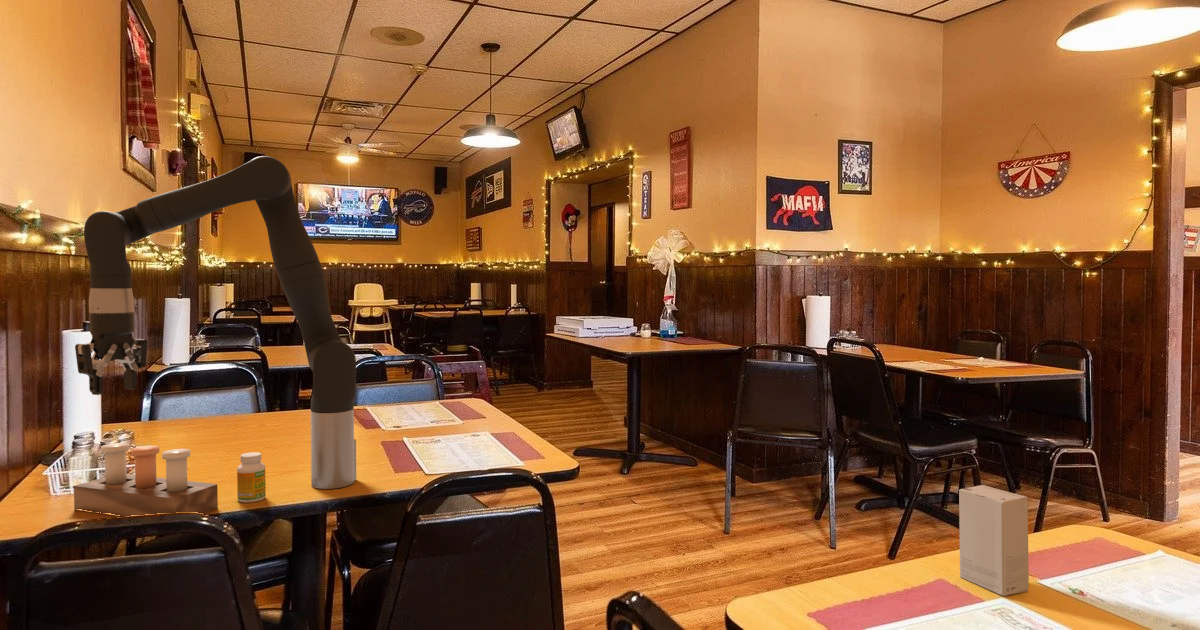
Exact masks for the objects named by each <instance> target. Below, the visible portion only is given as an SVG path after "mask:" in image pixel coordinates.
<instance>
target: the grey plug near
mask: <svg viewBox="0 0 1200 630" xmlns="http://www.w3.org/2000/svg"><path fill="white" fill-rule="evenodd" d="M189 457H191V449H189V448H176V449H174V448H173V449H169V450H164V451H163V452H162V453H161V459H162V460H165V474H166V476H165V478H166V488H167V492H172V493H178V492H181V491H184V490H187V489H188V486H187V481H188V458H189Z"/></svg>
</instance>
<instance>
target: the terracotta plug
mask: <svg viewBox="0 0 1200 630" xmlns="http://www.w3.org/2000/svg"><path fill="white" fill-rule="evenodd" d="M130 453H131V454H130V456H132V457H134V475H135V486H136V488H139V489H147V488H150V487H153V486H156V485H157V480H156V477H157V454H159V453H160V446H158V445H144V446H138V447H133V448H132V449H131V450H130Z"/></svg>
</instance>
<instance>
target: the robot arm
mask: <svg viewBox="0 0 1200 630" xmlns="http://www.w3.org/2000/svg"><path fill="white" fill-rule="evenodd" d="M292 184H293V183H292V179H291V174H290V171H289V170H288V168H287V166H286V165H285V164H284V163H283V162H282V161H281V160H279V159H277V158H276V157H272V156H267V155H261V156H256V157H254V158H252V159H251V160H249V161H247V162H246V163H244V164H242V165H240V166H238V167H236V168H234V169H231V170H230V171H227V172H226V173H223V174H221V175H218V176H216V177H213V178H210V179H207V180H205V181H202V182H198V183H194V184H191V185H188V186H184V187H181V188H177V189H174V190H171V191H167V192H163V193H160V194H158V195H154V196H152V197H149V198H145V199H142V200H141V201H139V202H138V203H137V204H136V205H134V206H131V207H129V208H125V209H122V210H120V211H115V212H113V211H110V210H109V211H108V210H101V211H96V212H94V213H92V214H91V215H89V216H88V217H87V219H86V220H85V223H84V227H83V238H84V239H83V240H84V245H85V250H86V255H87V259H88V263H89V298H88V307H89V310H88V312H89V315H88V317H89V318H88V319H89V333H90V335H91V340H90V342H89V343H77V344H75V346H74V349H75V358H76V366H77V372H78V374H82V375H87V377H88V384H89V385H88V386H89V389H88V390H89V392H90V393H91V394H92V395H95V396H100V395H103V393H104V383H103V382H104V379H103V378H104V377H103V372H104V371H105V368H106V367H108V366H109V364H110V362H112V361H113V362H114V361H117V362H118V363H120V364H121V366H122V368H123V370H124V371H123V388H124V390H126V391H127V390H128V391H132V390H135V389H136V386H137V384H138V382H137V381H138V380H137V379H138V378H137V372H138V370H140V369H142V368H145V367H146V366H147V356H148V355H147V352H148V339H143V338H135V339H134V336H133V333H134V332H135V302H134V300H135V299H134V294H133V279H132V277H133V274H132V273H133V272H132V266H131V263H130V262H129V261H128V259H127V250H126V246H128V245H131V244H133V243H135V242H138V241H141V240H143V239H145V238H147V237H149V236H151V235H153V234H158V233H160V232H164V231H167V230H170V229H174V228H177V227H180V226H182V225H185V224H188V223H191V222H194V221H195V220H197V219H200V218H203V217H205V216H207V215H209V214H211V213H214V212H216V211H219V210H221V209H224V208H227V207H230V206H232V205H237V204H240V203H246V202H251V201H255V203H256V205H257V207H258V210H259V212H260V214H261V216H262V219H263V221H264V224H265V227H266V231H267V236H268V242H269V249H270V252H271V256H272V257H271V258H272V262H273V265H274V268H275V271H276V274H277V276H278V280H279V282H280V285H281V288H282V290H283V293H284V295H285V297H286V299H287V302H288V304H289V307H290V309H291V310H292V313H293V315H294V317H295V318H296V321H297V324H298V326H299V330H300V333H301V336H302V337H301V338H302V341H303V344H304V349H305V353H306V357H307V362H308V366H309V368H310V370H311V371H312V396H311V399H310V452H311V453H310V458H311V459H310V461H311V463H310V464H311V469H310V471H311V474H310V475H311V477H310V479H311V480H310V481H311V483H310V484H311V487H312V488H316V489H320V490H330V489H331V490H332V489H334V490H335V489H340V488H344V487H345V488H346V487H348V486H351V485H353V484H354V482H355V481H356V480H357V440H356V439H355V420H354V419H355V418H354V416H355V415H354V413H355V412H354V410H355V409H354V407H355V404H354V403H355V398H356V394H357V393H356V391H357V359H356V355H355V352H354V350H353V349H352V347H351V346H350V345H348V344H347V343H345V342H344V341H343V340H342V339H341V335H340V334H339V331H338V329H337V327H336V324H335V322H334V320H333V316H332V313H331V307H330V299H329V292H328V285H327V281H326V276H325V273H324V270H323V268H322V263H321V261H320V258H319V255H318V253H317V251H316V249H315V246H314V244H313V242H312V239H311V238H310V235H309V233H308V231H307V230H306V227H305V225H304V223H303V221H302V219H301V216H300V213H299V210H298V206H297V203H296V199H295V198H296V197H295V195H294V190H293V186H292ZM93 352H94V353H93Z"/></svg>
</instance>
